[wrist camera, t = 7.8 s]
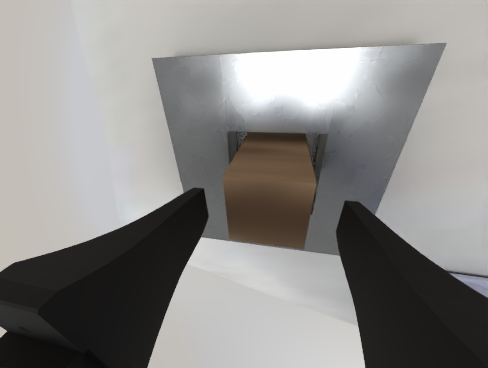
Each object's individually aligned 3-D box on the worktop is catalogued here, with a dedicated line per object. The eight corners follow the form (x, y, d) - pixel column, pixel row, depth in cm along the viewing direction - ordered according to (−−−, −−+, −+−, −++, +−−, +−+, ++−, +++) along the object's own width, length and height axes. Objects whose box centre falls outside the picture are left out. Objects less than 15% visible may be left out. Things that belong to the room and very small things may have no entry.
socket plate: (348, 234, 18) (356, 257, 16) (204, 218, 20) (194, 236, 18) (414, 47, 10) (446, 42, 8) (174, 59, 13) (151, 58, 11)
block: (298, 180, 16) (303, 249, 10) (250, 177, 17) (229, 239, 11) (304, 132, 14) (316, 183, 8) (249, 131, 14) (222, 177, 9)
